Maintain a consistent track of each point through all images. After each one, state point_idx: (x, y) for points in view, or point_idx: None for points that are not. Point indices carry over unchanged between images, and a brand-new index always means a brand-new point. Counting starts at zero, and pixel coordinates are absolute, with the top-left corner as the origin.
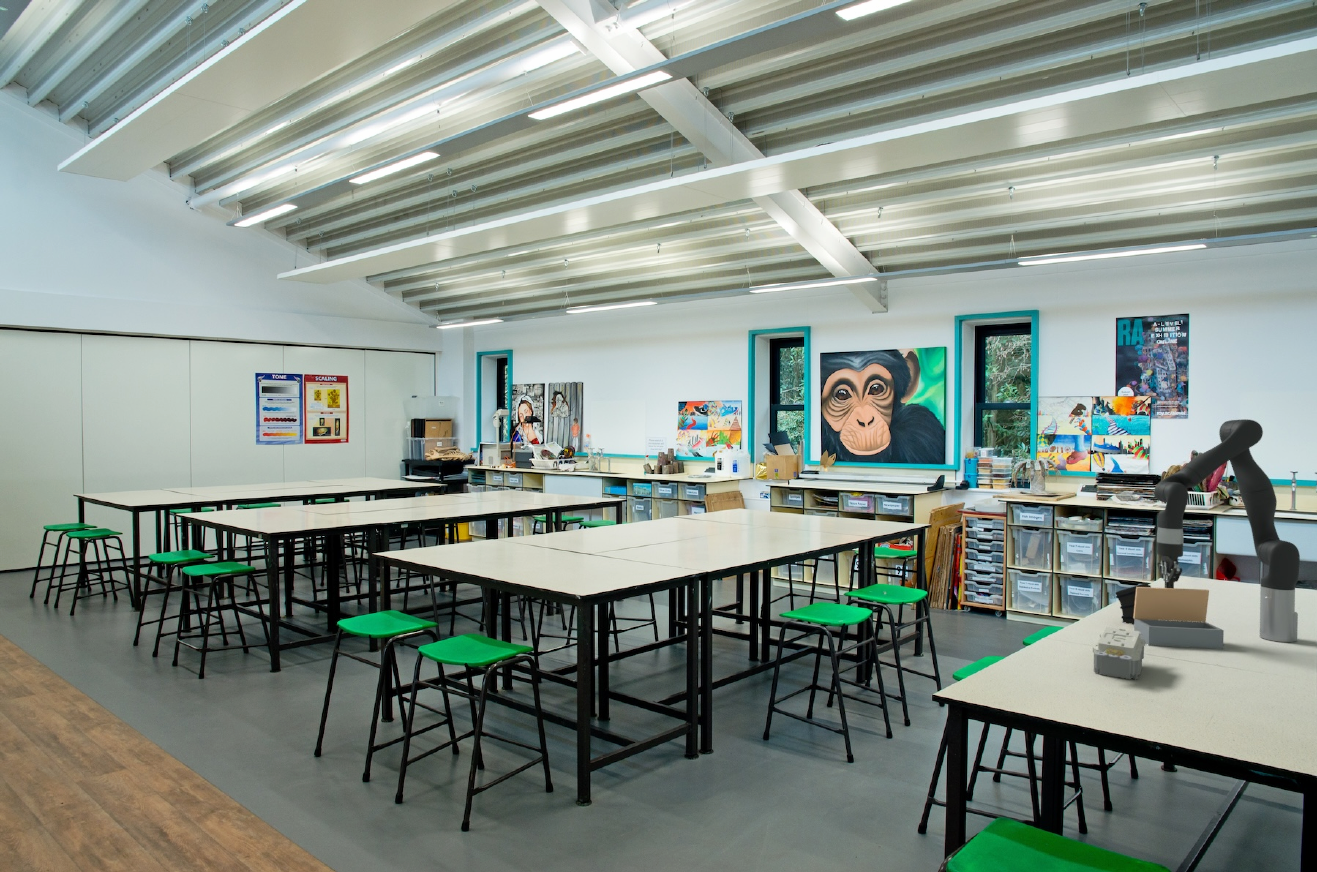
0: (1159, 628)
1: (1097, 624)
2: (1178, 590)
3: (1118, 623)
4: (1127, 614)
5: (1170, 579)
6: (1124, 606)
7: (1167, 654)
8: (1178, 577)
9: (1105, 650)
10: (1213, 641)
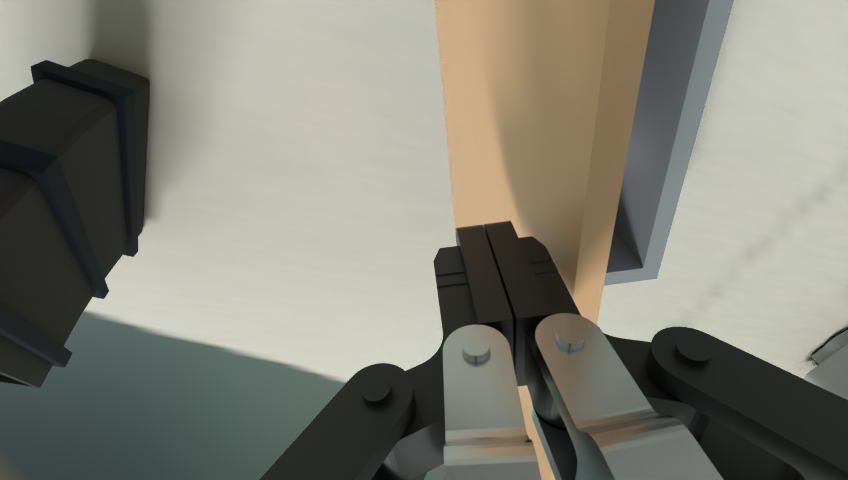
0: (663, 232)
1: (266, 326)
2: (602, 212)
3: (181, 252)
4: (119, 242)
5: (708, 431)
6: (98, 286)
7: (764, 192)
8: (830, 404)
9: None
10: None
